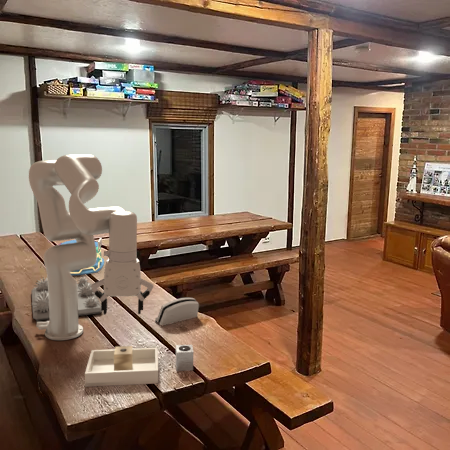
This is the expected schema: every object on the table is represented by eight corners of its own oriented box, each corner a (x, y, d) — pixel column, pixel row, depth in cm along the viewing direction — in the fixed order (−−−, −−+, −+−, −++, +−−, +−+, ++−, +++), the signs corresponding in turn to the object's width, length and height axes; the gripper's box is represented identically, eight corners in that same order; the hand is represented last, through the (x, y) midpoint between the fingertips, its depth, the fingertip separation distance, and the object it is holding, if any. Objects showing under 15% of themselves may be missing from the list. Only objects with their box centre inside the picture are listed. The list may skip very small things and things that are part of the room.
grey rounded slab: (190, 312, 182) (195, 292, 177) (196, 319, 178) (202, 299, 174) (153, 321, 171) (158, 300, 167) (159, 329, 168) (165, 308, 164)
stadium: (63, 257, 255) (62, 232, 253) (107, 257, 259) (107, 232, 256) (48, 276, 221) (47, 247, 219) (99, 275, 225) (98, 247, 222)
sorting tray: (85, 386, 126) (84, 373, 125) (91, 362, 139) (91, 350, 138) (158, 383, 129) (158, 370, 128) (157, 359, 142) (157, 347, 142)
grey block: (176, 371, 136) (176, 352, 135) (175, 363, 141) (175, 344, 140) (193, 370, 137) (193, 351, 136) (191, 362, 142) (192, 344, 140)
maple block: (114, 373, 131) (113, 354, 130) (115, 365, 136) (115, 346, 135) (131, 373, 132) (131, 353, 131) (132, 364, 137) (132, 345, 135)
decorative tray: (103, 315, 176) (103, 291, 174) (31, 324, 166) (30, 298, 164) (91, 287, 208) (90, 266, 206) (29, 293, 197) (28, 271, 195)
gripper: (89, 258, 122) (89, 318, 126) (154, 259, 125) (152, 317, 128) (92, 251, 129) (93, 307, 133) (154, 252, 132) (152, 307, 136)
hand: (122, 312), depth 131 cm, fingers open, 9 cm apart
